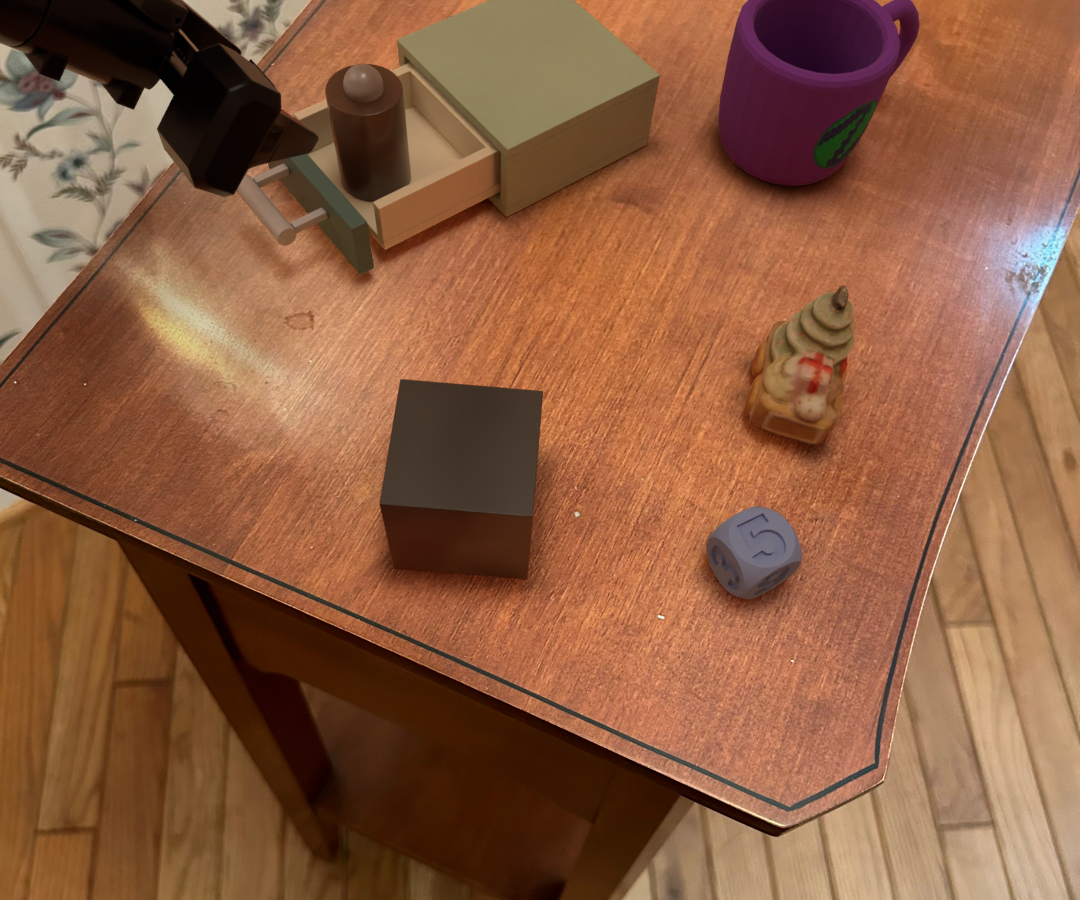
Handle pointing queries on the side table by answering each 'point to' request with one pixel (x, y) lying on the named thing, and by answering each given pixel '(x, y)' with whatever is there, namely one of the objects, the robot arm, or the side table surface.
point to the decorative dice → (753, 552)
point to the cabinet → (539, 90)
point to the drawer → (432, 195)
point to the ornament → (803, 370)
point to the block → (462, 478)
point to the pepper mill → (369, 130)
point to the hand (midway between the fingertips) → (274, 99)
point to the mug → (808, 82)
